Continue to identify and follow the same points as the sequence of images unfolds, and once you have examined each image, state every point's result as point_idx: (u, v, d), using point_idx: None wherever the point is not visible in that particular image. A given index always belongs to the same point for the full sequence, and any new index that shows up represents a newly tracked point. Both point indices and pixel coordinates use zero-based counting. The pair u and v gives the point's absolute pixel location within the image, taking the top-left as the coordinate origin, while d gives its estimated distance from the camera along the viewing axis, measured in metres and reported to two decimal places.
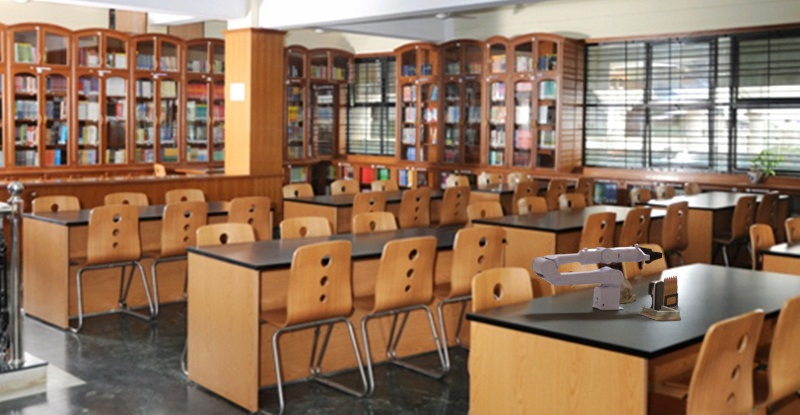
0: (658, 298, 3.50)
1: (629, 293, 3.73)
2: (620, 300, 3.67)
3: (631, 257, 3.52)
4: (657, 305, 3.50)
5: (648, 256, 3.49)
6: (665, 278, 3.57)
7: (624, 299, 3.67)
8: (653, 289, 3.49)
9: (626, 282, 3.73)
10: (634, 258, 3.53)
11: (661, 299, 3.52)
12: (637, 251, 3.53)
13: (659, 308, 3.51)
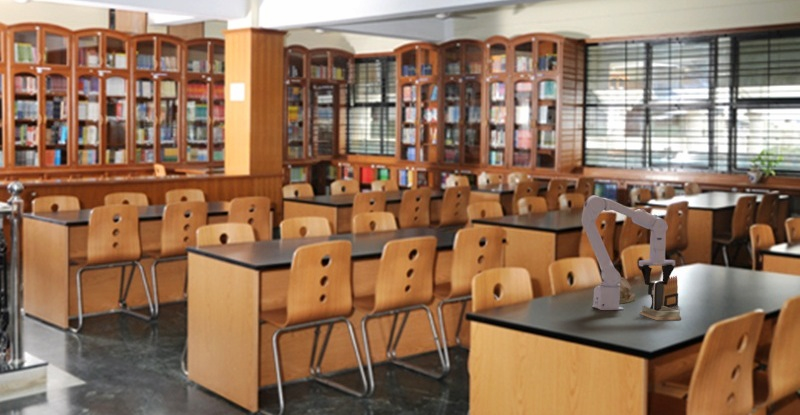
0: (658, 298, 3.50)
1: (628, 293, 3.73)
2: (619, 300, 3.67)
3: (650, 251, 3.51)
4: (657, 305, 3.50)
5: (640, 264, 3.49)
6: None
7: (623, 299, 3.68)
8: (653, 289, 3.49)
9: (625, 282, 3.73)
10: None
11: (661, 299, 3.52)
12: (653, 259, 3.49)
13: (659, 308, 3.51)
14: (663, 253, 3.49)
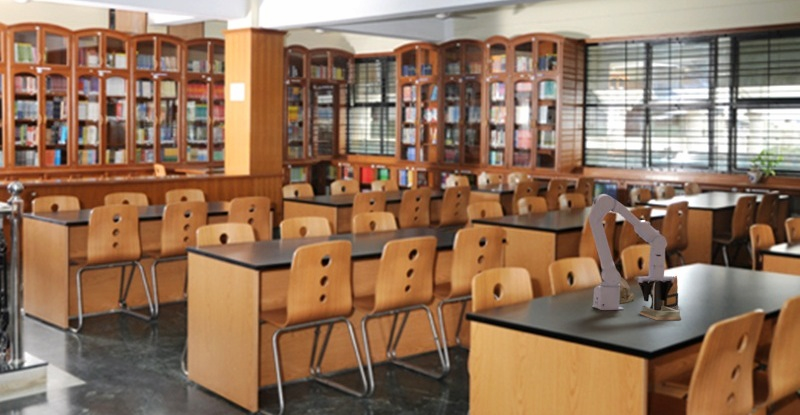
0: (658, 298, 3.50)
1: (627, 293, 3.73)
2: None
3: (649, 267, 3.51)
4: (657, 305, 3.50)
5: (639, 281, 3.49)
6: None
7: (622, 299, 3.68)
8: (652, 289, 3.49)
9: (624, 282, 3.73)
10: None
11: (661, 299, 3.52)
12: (652, 276, 3.50)
13: (659, 308, 3.51)
14: (662, 270, 3.49)
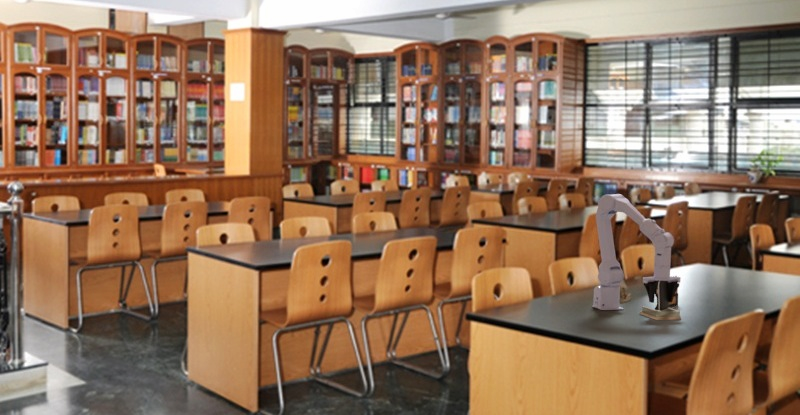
0: (663, 297, 3.37)
1: (624, 293, 3.74)
2: None
3: (654, 268, 3.38)
4: (663, 304, 3.37)
5: (644, 281, 3.36)
6: None
7: (621, 299, 3.68)
8: (657, 288, 3.36)
9: (621, 282, 3.74)
10: None
11: (667, 297, 3.39)
12: (658, 276, 3.37)
13: (665, 307, 3.39)
14: (668, 270, 3.36)
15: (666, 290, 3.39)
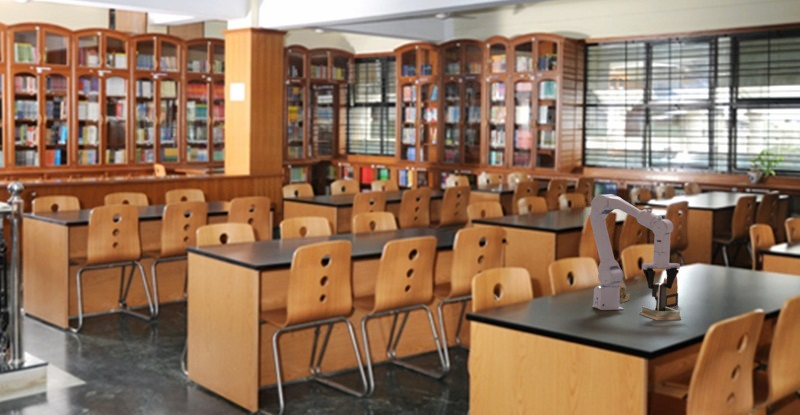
0: (662, 300, 3.38)
1: (623, 292, 3.74)
2: None
3: None
4: (661, 308, 3.38)
5: (644, 267, 3.37)
6: (665, 278, 3.57)
7: (620, 299, 3.68)
8: (658, 291, 3.37)
9: (620, 282, 3.74)
10: (653, 258, 3.40)
11: (664, 301, 3.40)
12: (657, 262, 3.37)
13: None
14: (667, 256, 3.37)
15: (664, 294, 3.40)
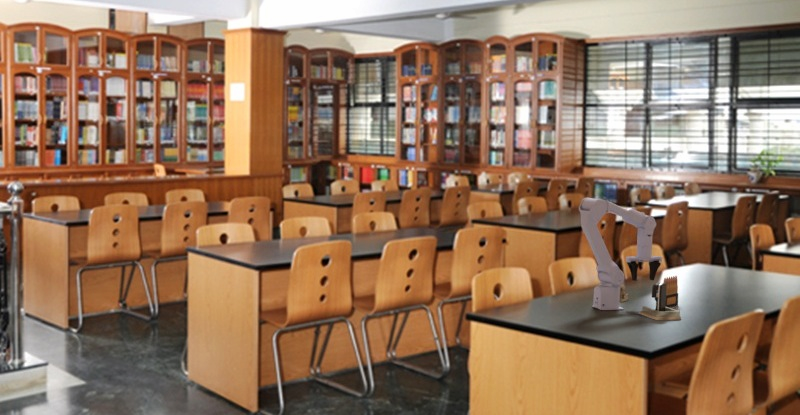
0: (662, 301, 3.38)
1: (622, 292, 3.74)
2: None
3: (637, 248, 3.58)
4: (661, 308, 3.38)
5: (627, 260, 3.56)
6: (665, 278, 3.57)
7: (619, 299, 3.68)
8: (657, 292, 3.37)
9: None
10: None
11: (664, 302, 3.40)
12: (640, 256, 3.57)
13: None
14: (650, 249, 3.56)
15: (664, 294, 3.40)
